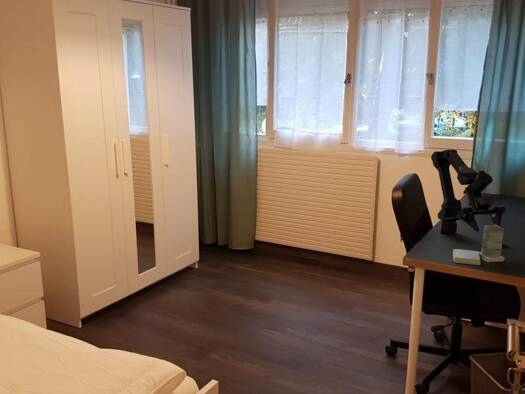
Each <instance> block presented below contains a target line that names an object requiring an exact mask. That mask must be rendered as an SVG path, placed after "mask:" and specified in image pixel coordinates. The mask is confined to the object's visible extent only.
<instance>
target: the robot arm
mask: <svg viewBox="0 0 525 394" xmlns="http://www.w3.org/2000/svg"><path fill="white" fill-rule="evenodd" d="M430 158H431V162H432V165H433V167H434V168H435V169H436V170H437V172H438V176H439V181H440V187H441V192H442V198H443V201H442V204H441V207H440V208H441V209H440V210H439V211H438V213H437V219H438V220H440V228H439V233H440V234H444V235H445V234H446V235H456V233H457V231H458V230H457V229H458V222H457V221H460V220H461V222H464V223H466V224H467V225H468V226H469V227H471V228H472V229H473V231H475V232H476V233H479V232H480V229H479V226H478V224H477V221H476V218H475V217H476V216H482V215H486V216H487V215H489V216H490V217H491V219H490V220H491V221H492V223H493V225H498V226H500V227H502V217H503V216H504V215H505V214H506V213H507V212H508V210H507V207H506V206H505V205H495V204H496V203H498V202H499V203H500V199H499V196H498V194H497V193H493V194H491V195H484V194H483V192H485V191H486V190H487V188H489V186H490V185H491V184H492V182H493V181H494V180H493V177H492V176H491V175H490V174H489V173H487V172H486V171H485V170H479V171H476V170H475V169H473V168H472V167H469V166H468V165H467V164H466V162H465V161H464V160H463V159H462V157H461V156H460V155H459V153H458V150H457V149H453V148H452V149H444V150H440V151H436V150H434V152H433V153H432V154H431V156H430ZM450 166H451V167H452V169H454V171H455V173H456V175H457V176H456V178H457V182H458V183H459V185H461V186H466V187H465V188H464V190H463V191H462V192H463V195H467V198H468V203H467V204H468V206H465V207H463V206H462V201H461V200H460V199H457V198H456V196H455V190H454V186H453V180H452V175H451V172H450ZM492 205H495V206H494V207H493V208H492V209H490V208H491V207H492Z"/></svg>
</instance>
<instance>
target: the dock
mask: <svg viewBox="0 0 525 394" xmlns="http://www.w3.org/2000/svg"><path fill="white" fill-rule="evenodd" d="M478 252H479V251H478V250H477V251H476V250H468V249H458V248H453V250H452V258H453V259H452V260H453V262H454V263H457V264H466V265H476V266H481V258H480V257H479V253H478Z"/></svg>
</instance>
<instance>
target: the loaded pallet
mask: <svg viewBox="0 0 525 394" xmlns="http://www.w3.org/2000/svg"><path fill="white" fill-rule="evenodd" d="M504 232H505V228H504V227H502V226H501V227H500V226H498V225H494V224H485V225H483V232H482V233H483V234H482V241H481V249H480V251H478V253H479V257H480V259H481V258H482V260H483V261H484V262H486V263H494V262H504V261H505V257H504V256H502V255H501V254H502V249H503V247H502V246H503V238H504V236H503V235H504Z"/></svg>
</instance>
